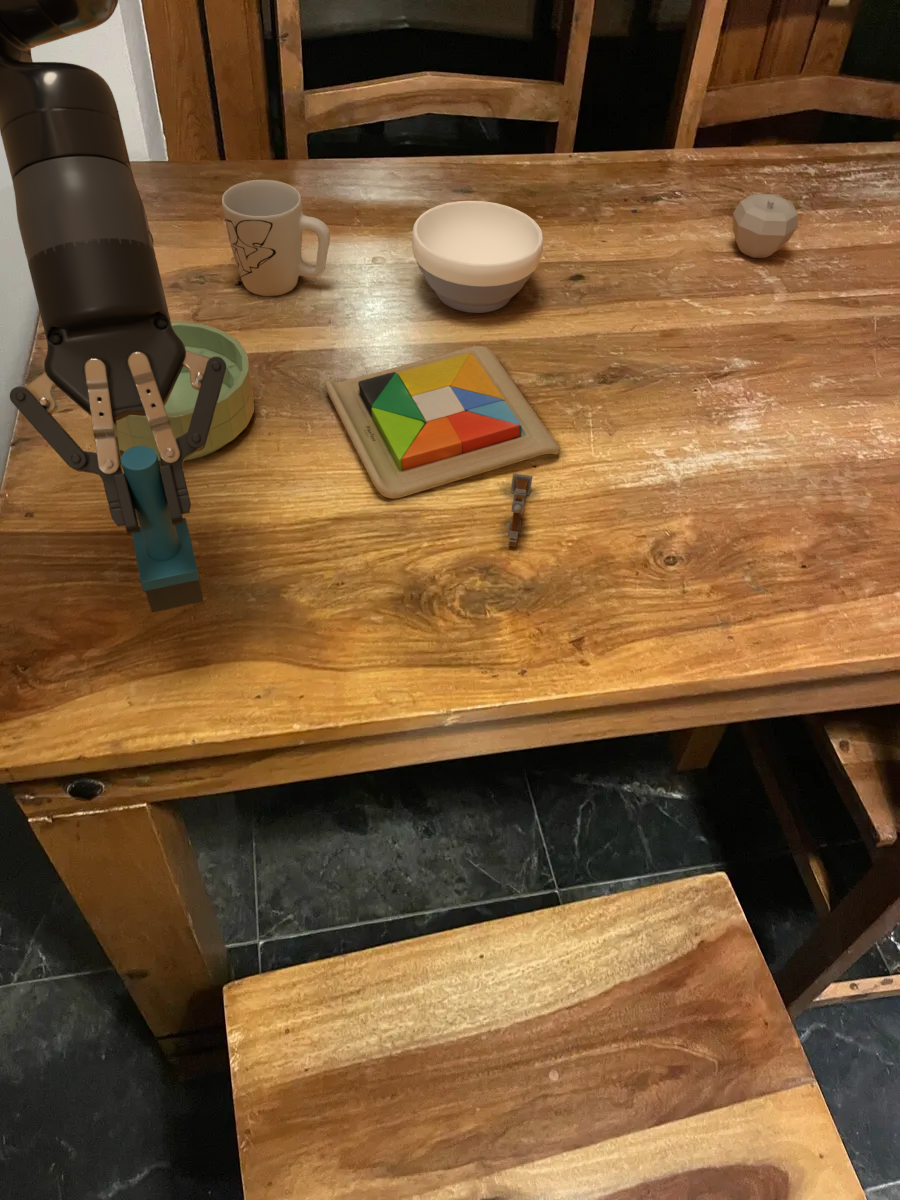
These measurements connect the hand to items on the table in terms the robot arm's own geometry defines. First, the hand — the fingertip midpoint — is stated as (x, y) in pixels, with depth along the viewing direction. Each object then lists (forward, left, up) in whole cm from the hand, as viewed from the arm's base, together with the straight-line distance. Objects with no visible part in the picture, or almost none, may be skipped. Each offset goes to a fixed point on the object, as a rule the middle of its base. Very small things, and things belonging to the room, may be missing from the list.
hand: (156, 527), depth 60 cm
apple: (+89, +5, -16) cm, 90 cm away
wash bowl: (+17, +26, -16) cm, 35 cm away
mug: (+40, +38, -16) cm, 57 cm away
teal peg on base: (+1, +2, -8) cm, 8 cm away
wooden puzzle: (+35, +8, -16) cm, 39 cm away
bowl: (+55, +22, -16) cm, 61 cm away
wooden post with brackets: (+31, -6, -16) cm, 35 cm away
